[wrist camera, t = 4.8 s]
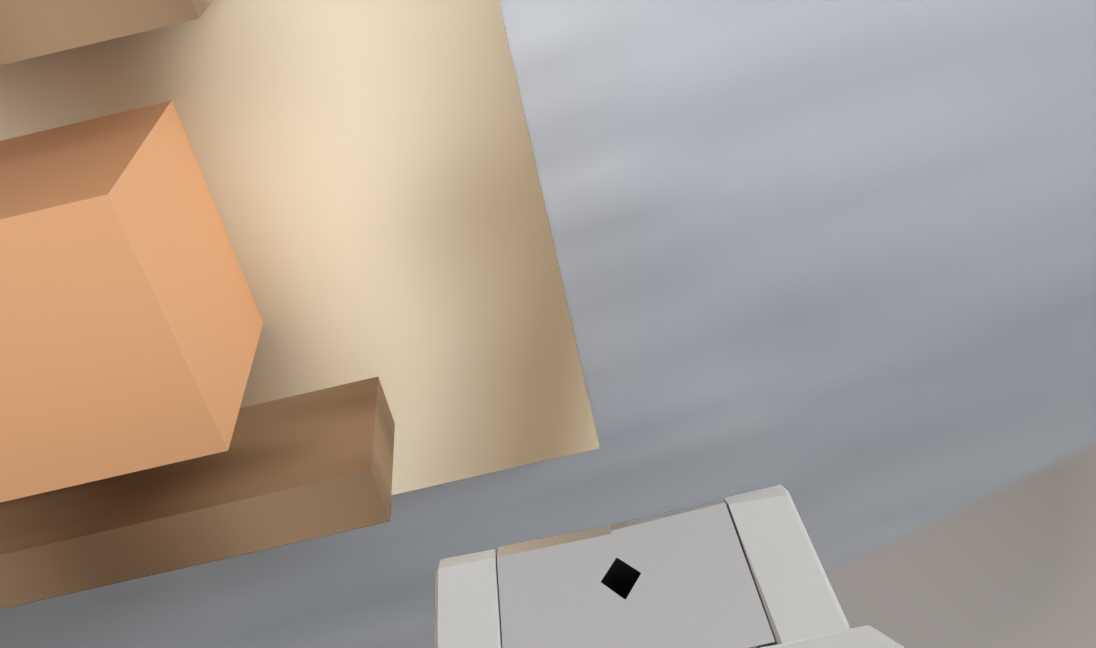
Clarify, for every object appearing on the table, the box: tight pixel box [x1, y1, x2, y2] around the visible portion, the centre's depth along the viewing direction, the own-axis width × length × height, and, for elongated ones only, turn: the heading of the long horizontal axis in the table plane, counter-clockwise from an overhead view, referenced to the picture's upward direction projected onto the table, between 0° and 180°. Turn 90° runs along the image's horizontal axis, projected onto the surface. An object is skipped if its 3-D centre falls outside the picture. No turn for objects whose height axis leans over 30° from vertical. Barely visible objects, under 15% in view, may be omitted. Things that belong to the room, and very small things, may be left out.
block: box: [0, 100, 263, 503], centre depth 17 cm, size 4×4×4 cm
